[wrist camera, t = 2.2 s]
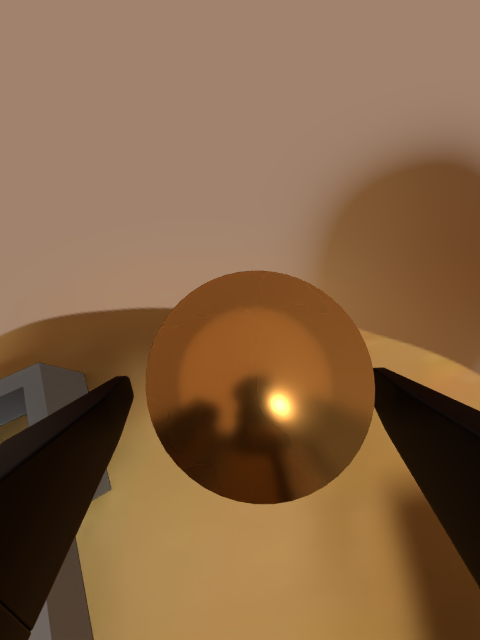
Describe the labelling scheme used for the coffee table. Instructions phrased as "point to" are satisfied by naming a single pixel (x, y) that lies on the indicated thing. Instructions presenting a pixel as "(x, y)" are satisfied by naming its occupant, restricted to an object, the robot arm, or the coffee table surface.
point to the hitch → (68, 590)
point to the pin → (260, 387)
